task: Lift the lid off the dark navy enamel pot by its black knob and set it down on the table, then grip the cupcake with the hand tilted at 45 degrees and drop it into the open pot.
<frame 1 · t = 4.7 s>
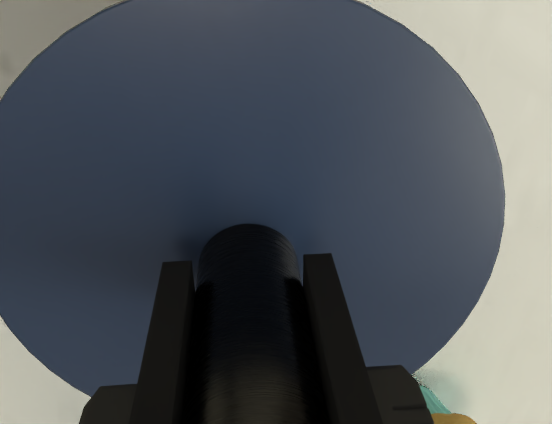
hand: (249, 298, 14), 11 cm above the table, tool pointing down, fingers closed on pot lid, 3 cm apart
pot lid: (247, 253, 15), point 9 cm above the table, touching gripper, pot
cupcake: (399, 403, 34), on the table
when the fingers open (3 cm above the table, at t = 11.8 s): pot lid stays where it is, point 1 cm above the table.
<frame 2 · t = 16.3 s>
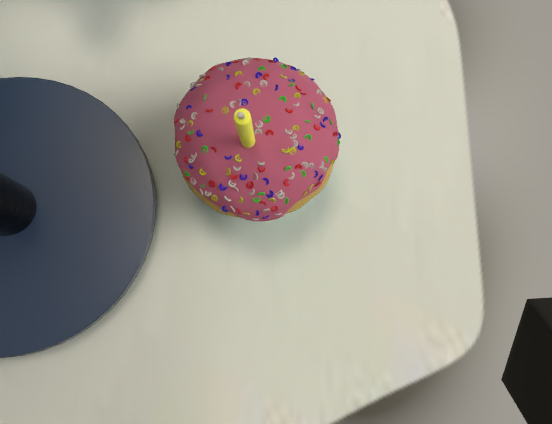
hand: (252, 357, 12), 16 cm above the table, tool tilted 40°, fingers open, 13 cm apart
pot lid: (13, 211, 28), point 1 cm above the table
cupcake: (254, 164, 30), on the table
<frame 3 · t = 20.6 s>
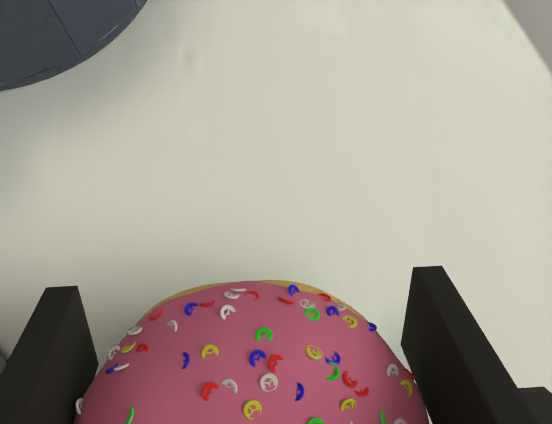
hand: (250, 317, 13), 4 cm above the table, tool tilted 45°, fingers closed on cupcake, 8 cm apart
when the fingers open (10 cm above the table, at t = 28.1 s): cupcake drops 6 cm, resting on pot.
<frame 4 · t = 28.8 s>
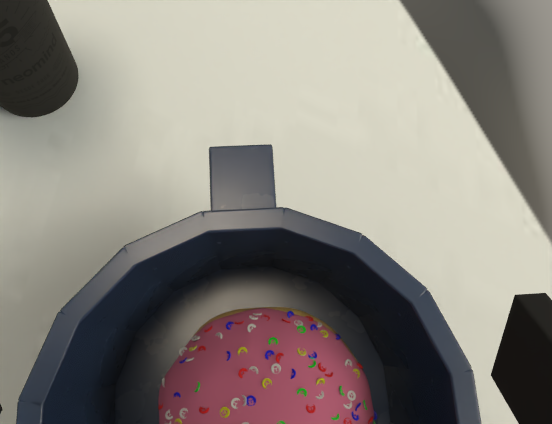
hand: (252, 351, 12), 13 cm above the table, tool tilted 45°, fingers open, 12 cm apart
pot: (253, 401, 24), on the table
cupcake: (262, 402, 24), resting on pot
drinking cup: (36, 80, 28), on the table
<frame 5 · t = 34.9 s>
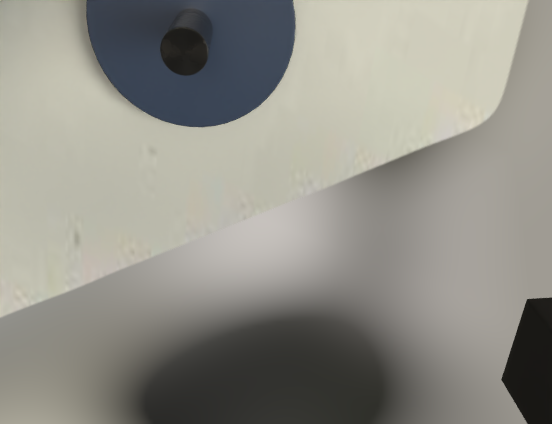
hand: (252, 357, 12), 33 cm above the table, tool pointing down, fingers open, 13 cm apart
pot lid: (193, 27, 38), point 1 cm above the table
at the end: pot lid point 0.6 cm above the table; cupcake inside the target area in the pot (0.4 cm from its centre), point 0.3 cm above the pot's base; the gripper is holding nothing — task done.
